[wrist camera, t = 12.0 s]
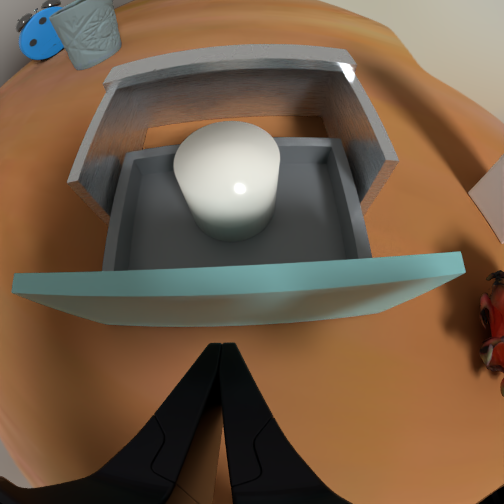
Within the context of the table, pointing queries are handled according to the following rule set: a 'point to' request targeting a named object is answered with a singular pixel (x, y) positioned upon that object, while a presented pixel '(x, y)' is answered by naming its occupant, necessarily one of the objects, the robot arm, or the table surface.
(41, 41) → the alarm clock
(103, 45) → the grey-green cup
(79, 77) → the table surface
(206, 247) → the drawer
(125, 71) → the dock
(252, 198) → the grey rounded tapered piece
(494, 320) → the dragon fruit
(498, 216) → the milk
